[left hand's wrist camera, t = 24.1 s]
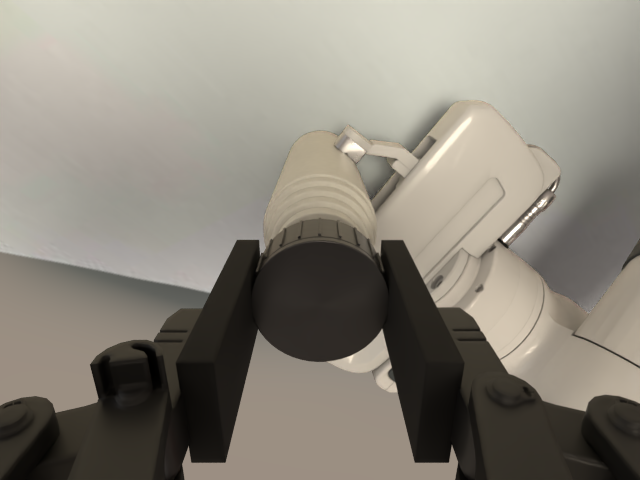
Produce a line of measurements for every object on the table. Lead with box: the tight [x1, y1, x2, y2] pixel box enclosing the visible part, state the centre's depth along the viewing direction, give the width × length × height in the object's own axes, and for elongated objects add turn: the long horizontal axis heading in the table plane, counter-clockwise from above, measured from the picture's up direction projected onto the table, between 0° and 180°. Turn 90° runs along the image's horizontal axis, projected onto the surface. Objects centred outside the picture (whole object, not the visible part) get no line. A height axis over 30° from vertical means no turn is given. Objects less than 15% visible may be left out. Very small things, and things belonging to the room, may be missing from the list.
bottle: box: [263, 131, 377, 247], centre depth 23 cm, size 5×5×21 cm
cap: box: [251, 218, 389, 362], centre depth 14 cm, size 4×4×2 cm
